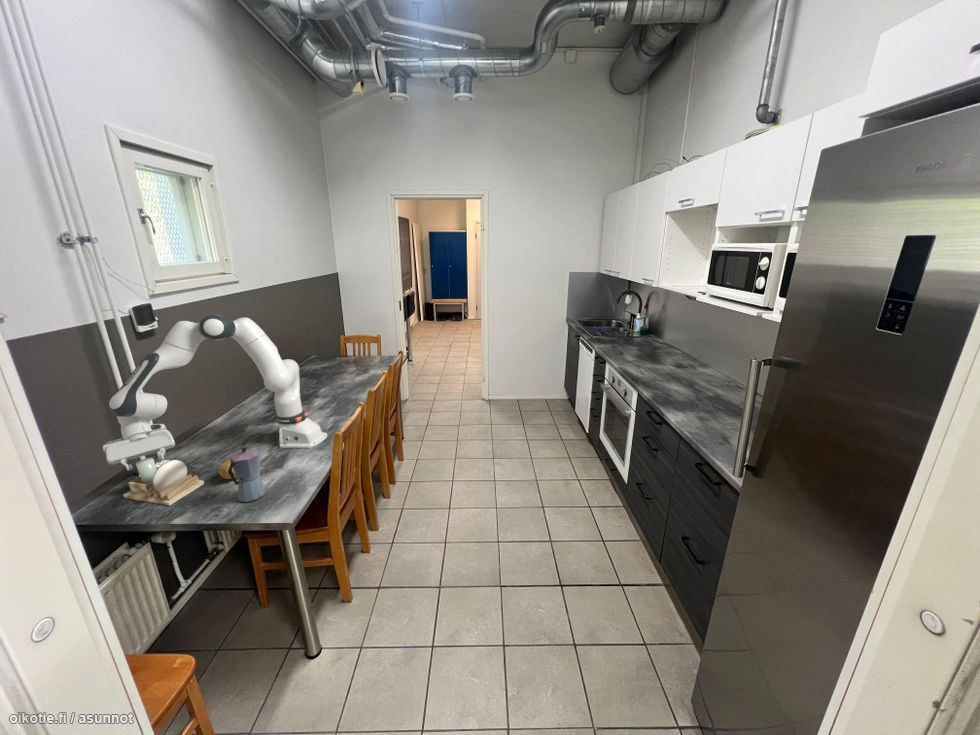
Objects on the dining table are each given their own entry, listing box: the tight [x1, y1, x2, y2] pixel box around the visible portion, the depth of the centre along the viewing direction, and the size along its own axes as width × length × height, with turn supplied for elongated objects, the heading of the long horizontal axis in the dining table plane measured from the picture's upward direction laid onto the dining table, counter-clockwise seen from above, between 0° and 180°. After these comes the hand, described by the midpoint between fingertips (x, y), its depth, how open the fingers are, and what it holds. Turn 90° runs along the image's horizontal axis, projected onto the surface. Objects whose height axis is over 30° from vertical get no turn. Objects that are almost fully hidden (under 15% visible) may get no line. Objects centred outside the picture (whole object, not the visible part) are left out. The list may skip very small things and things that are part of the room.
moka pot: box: [228, 447, 266, 503], centre depth 142 cm, size 10×15×20 cm, turn 2°
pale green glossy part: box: [135, 457, 158, 484], centre depth 149 cm, size 5×5×11 cm
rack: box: [123, 459, 205, 506], centre depth 147 cm, size 22×14×13 cm, turn 77°
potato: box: [218, 458, 238, 480], centre depth 158 cm, size 10×14×8 cm
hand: (146, 464), depth 148 cm, fingers open, 8 cm apart
